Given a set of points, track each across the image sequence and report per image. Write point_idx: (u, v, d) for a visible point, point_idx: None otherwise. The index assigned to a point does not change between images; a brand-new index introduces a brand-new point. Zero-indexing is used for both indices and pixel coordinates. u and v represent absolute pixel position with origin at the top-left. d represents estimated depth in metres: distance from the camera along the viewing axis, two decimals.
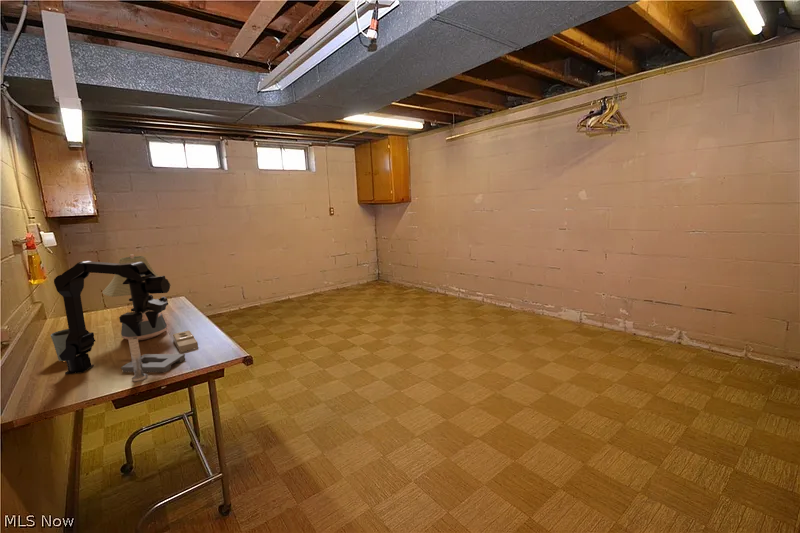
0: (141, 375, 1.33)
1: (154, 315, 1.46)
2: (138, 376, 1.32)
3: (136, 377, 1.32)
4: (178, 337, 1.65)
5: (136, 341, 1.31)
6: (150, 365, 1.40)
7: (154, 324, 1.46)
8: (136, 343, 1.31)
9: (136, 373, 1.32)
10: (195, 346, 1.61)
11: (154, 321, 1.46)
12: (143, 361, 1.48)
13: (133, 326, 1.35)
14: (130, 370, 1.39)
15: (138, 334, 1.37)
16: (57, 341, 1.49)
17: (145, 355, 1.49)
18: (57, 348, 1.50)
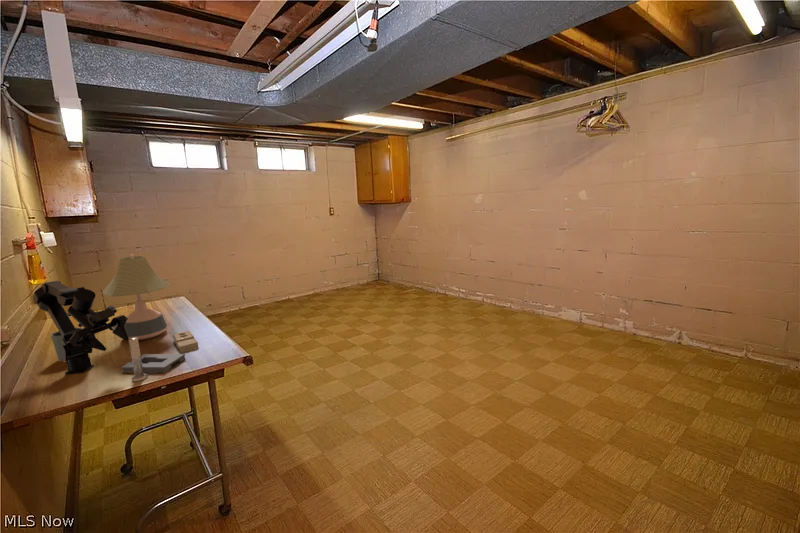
0: (141, 375, 1.33)
1: (119, 329, 1.37)
2: (138, 376, 1.32)
3: (136, 377, 1.32)
4: (178, 337, 1.65)
5: (136, 341, 1.31)
6: (150, 365, 1.40)
7: (125, 336, 1.37)
8: (136, 343, 1.31)
9: (136, 373, 1.32)
10: (195, 346, 1.61)
11: (123, 334, 1.37)
12: (143, 361, 1.48)
13: (92, 344, 1.27)
14: (130, 370, 1.39)
15: (102, 348, 1.27)
16: (57, 341, 1.49)
17: (145, 355, 1.49)
18: (57, 348, 1.50)
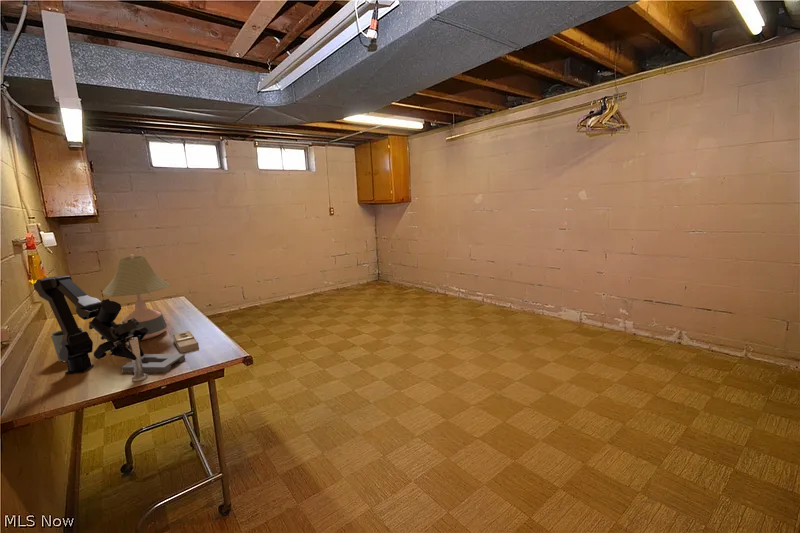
0: (141, 375, 1.33)
1: None
2: (138, 376, 1.32)
3: (136, 377, 1.32)
4: (178, 338, 1.64)
5: (136, 341, 1.31)
6: (150, 365, 1.40)
7: (140, 352, 1.33)
8: (136, 343, 1.31)
9: (136, 373, 1.32)
10: (196, 347, 1.60)
11: None
12: (143, 361, 1.48)
13: (122, 353, 1.29)
14: (130, 370, 1.39)
15: (132, 357, 1.30)
16: (57, 341, 1.49)
17: (145, 355, 1.49)
18: (57, 348, 1.50)
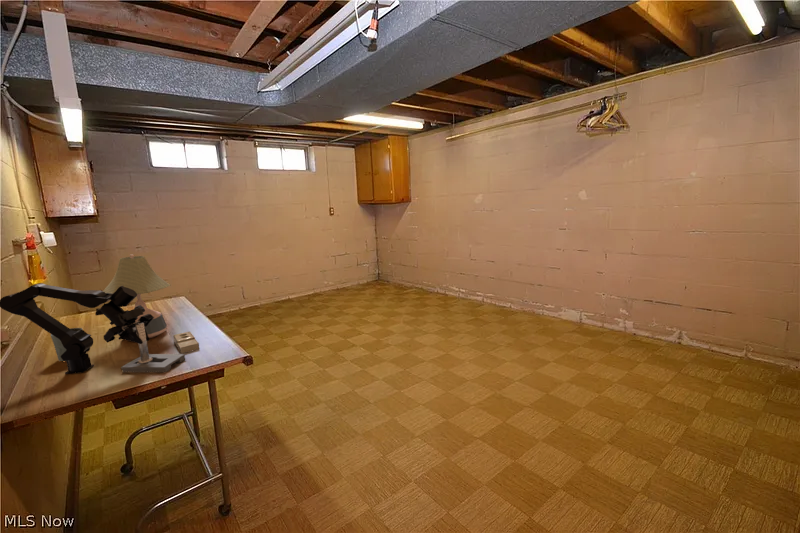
0: (147, 358, 1.44)
1: None
2: (144, 359, 1.43)
3: (142, 360, 1.43)
4: (179, 338, 1.64)
5: (142, 326, 1.42)
6: (150, 365, 1.40)
7: (146, 336, 1.44)
8: (142, 328, 1.42)
9: (142, 356, 1.43)
10: (196, 347, 1.60)
11: None
12: None
13: (130, 337, 1.40)
14: (130, 370, 1.39)
15: (139, 341, 1.41)
16: (57, 341, 1.49)
17: None
18: (57, 348, 1.50)
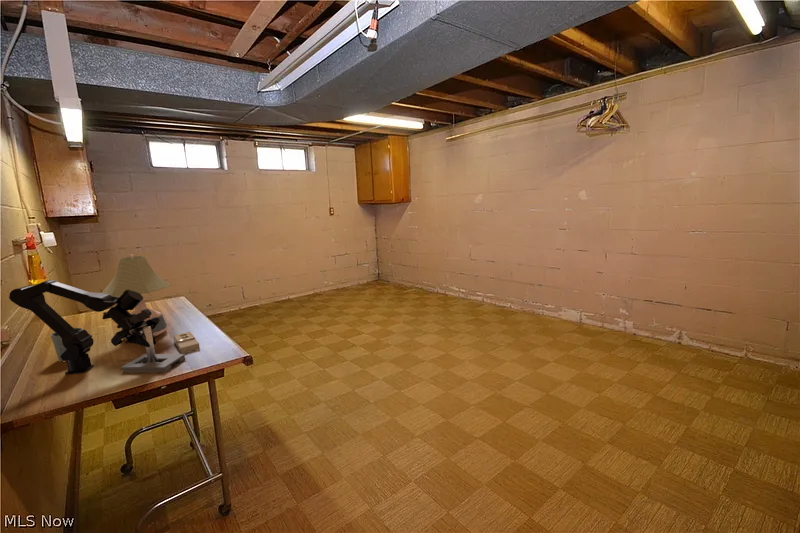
0: (154, 361, 1.44)
1: None
2: None
3: None
4: (179, 338, 1.63)
5: (149, 330, 1.42)
6: (150, 365, 1.40)
7: (153, 340, 1.44)
8: (149, 331, 1.42)
9: (149, 359, 1.43)
10: (197, 347, 1.59)
11: None
12: (143, 361, 1.48)
13: (137, 341, 1.40)
14: (130, 370, 1.39)
15: (146, 345, 1.41)
16: (57, 341, 1.49)
17: (145, 355, 1.49)
18: (57, 348, 1.50)
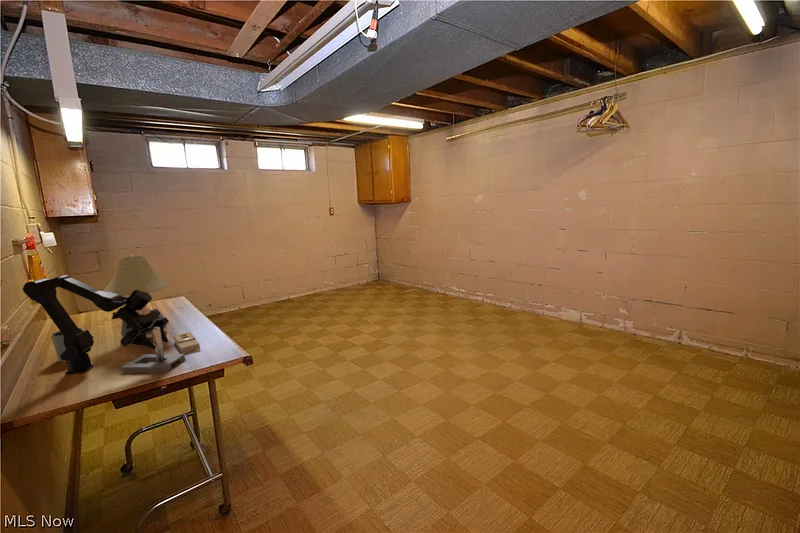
0: None
1: None
2: None
3: None
4: (179, 339, 1.63)
5: (158, 330, 1.41)
6: (150, 365, 1.40)
7: (165, 339, 1.45)
8: (158, 332, 1.41)
9: (158, 360, 1.43)
10: (197, 348, 1.59)
11: (163, 336, 1.45)
12: (143, 361, 1.48)
13: (143, 342, 1.38)
14: (130, 370, 1.39)
15: (152, 346, 1.39)
16: (57, 341, 1.49)
17: (145, 355, 1.49)
18: (57, 348, 1.50)
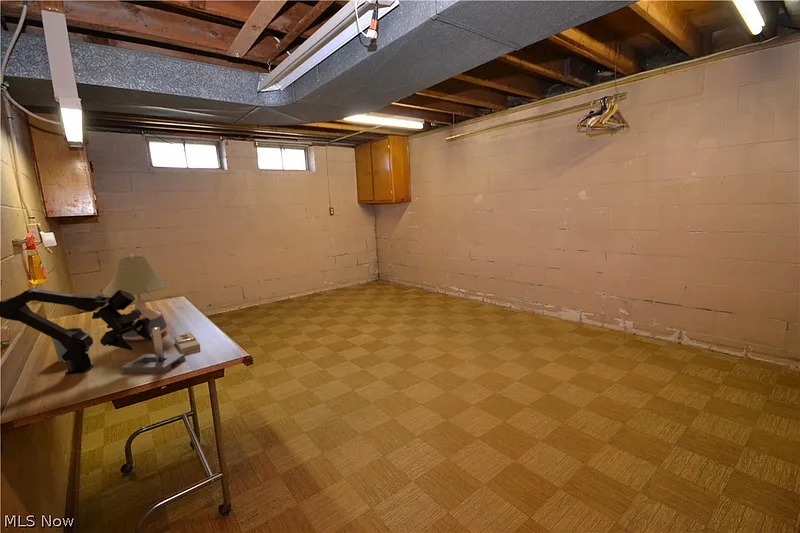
0: None
1: (143, 330, 1.48)
2: None
3: None
4: (180, 339, 1.62)
5: (158, 331, 1.41)
6: (150, 365, 1.40)
7: (149, 337, 1.48)
8: (158, 332, 1.41)
9: (158, 360, 1.43)
10: (197, 348, 1.58)
11: (147, 335, 1.48)
12: (143, 361, 1.48)
13: (119, 344, 1.38)
14: (130, 370, 1.39)
15: (129, 348, 1.39)
16: (57, 341, 1.49)
17: (145, 355, 1.49)
18: (57, 348, 1.50)
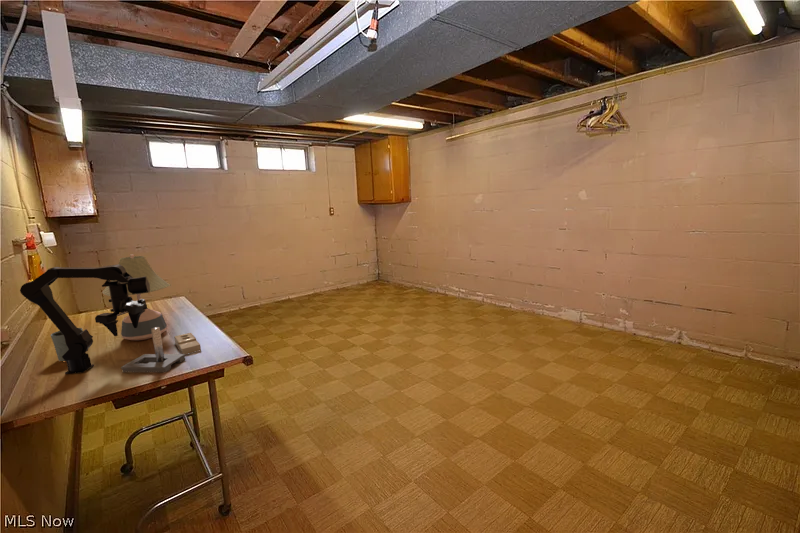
0: None
1: (136, 316, 1.51)
2: None
3: None
4: (180, 339, 1.62)
5: (158, 331, 1.41)
6: (150, 365, 1.40)
7: (135, 324, 1.51)
8: (158, 332, 1.41)
9: (158, 360, 1.43)
10: (198, 348, 1.58)
11: (135, 321, 1.51)
12: (143, 361, 1.48)
13: (109, 326, 1.41)
14: (130, 370, 1.39)
15: (114, 334, 1.42)
16: (57, 341, 1.49)
17: (145, 355, 1.49)
18: (57, 348, 1.50)
